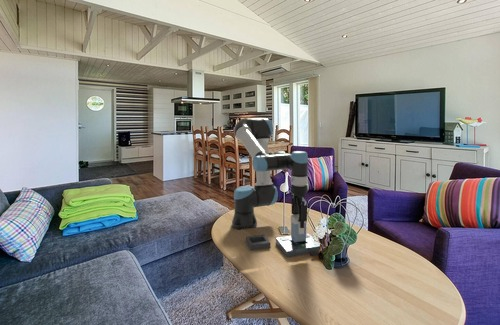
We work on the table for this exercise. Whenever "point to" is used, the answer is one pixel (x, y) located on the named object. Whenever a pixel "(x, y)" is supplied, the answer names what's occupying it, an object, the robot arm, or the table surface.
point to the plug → (294, 229)
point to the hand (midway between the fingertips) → (298, 231)
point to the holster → (257, 242)
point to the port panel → (298, 246)
